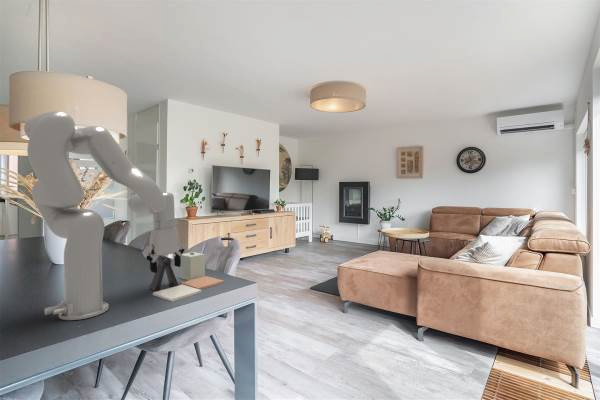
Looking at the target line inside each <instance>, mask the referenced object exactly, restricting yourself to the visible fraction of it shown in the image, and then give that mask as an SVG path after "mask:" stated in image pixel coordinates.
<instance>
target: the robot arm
mask: <svg viewBox="0 0 600 400" xmlns="http://www.w3.org/2000/svg"><path fill="white" fill-rule="evenodd" d="M23 131H24V133H25V135H26V137H27V138H28V143H27V151H26V152H27V158H28V162H29V163H30V166H31V168H32V170H33V172H34V174H35V177H36V178H37V181H35V182H34V184H33V186H32V188H31V198H32V200H33V202H34V205H35V206H36V208H37V210H38V211H39V213H40V215H41V217H42V218H43V221H44V222H45V223H46V225H47V227H48V228H49V230H50V231H51V232H52V233H53V234H54V235H55V236H57V237H59V238H62V239H66V241H65V242H66V243H65V245H64V251H63V278H64V282H63V283H64V287H63V288H64V299H62V300H61V301H60V303H58V304H57V305H54V306H52V305H51V306H48V307H45V308H44V309H43V310H44V316H47V315H51V314H53V315H58V319H60V320H63V321H78V320H85V319H89V318H93V317H96V316H99V315H101V314H104V313H105V312H106V311H108V309H109V303H107V302H105V301H103V299H104V298H103V295H104V294H103V257H102V256H103V254H102V253H103V251H102V250H103V238H104V233H105V221H104V218H103V217H102V216H101V215H100V214H99V213H98V212H97V211H95V210H92V209H89V208H88V209H87V208H78V206H79V205H81V203H82V202H83V201H84V199H85V191H84V188H83V185H82V184H81V182H80V180H79V178H78V177H77V175H76V172H75V171H74V168H73V167H72V165H71V161H70V160H69V156H68V152H69V153H73V154H79V155H90V156H91V157H92V159H93V160H94V161H95V163H96V164H97V165H98V166H99V167H100V169H101V170H102V171H103V172H104V174H105V175H106V176H107V178H109V179H110V180H112V181H113V182H116V183H118V184H120V185H122V186H125V187H126V188H129V190H132V191H133V192H134V194H133V195H131V196H129V198H128V200H127V206H128V208H129V210H130V211H132V212H133V213H136V214H141V215H142V214H146V215H148V214H149V215H153V216H152V217H153V218H152V219H153V220H152V222H153V228H152V229H151V231H150V236H149V246H148V247H146V248H145V249H144V250H142V252H141V253H142V255H143V257H144V259H146V260H147V261H148V262H149V270H150V272H151V273H154V274H155V273H157V266H158V261H156V260H158V258H159V257H160V256H162V257H163V256H168V255H172V254H174V257H173V259H174V260H173V263H174V266H175V267H177V268H179V267H180V266H181V256H182V254H184V252H185V249H186V247H187V244H186V243H184V242H182V241H180V237H179V233H178V229H177V227H176V225H178V220H176V219H175V213H176V212H175V196H174V194H173V193H172V192H162V190H161V188H160V187H159V186H158V184H157V183H156V182H155V181H154V179H152V177H150V176H149V175H148V174H146V173H145V172H144V171H142V170H141V169H140V168H138V167H137V166H136V165H134V164H133V163H132V162H131V159H129V157H128V156H127V154H126V152H124V150H123V148H122V147H121V146H120V145H119V144H118V142H117V141H116V139H115V138H114V137H113V135H112V134H111V132H110V131H109V130H108V129H107V128H105V127H103V126H100V125H92V126H86V127H78V126H76V122H75V120H74V119H73V117H72V116H71V115H69V114H68V113H67V112H64V111H60V110H52V111H47V112H43V113H40V114H37V115H33V116H31V117H30V118H28V119H27V120H26V121H25V122H24V125H23Z"/></svg>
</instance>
